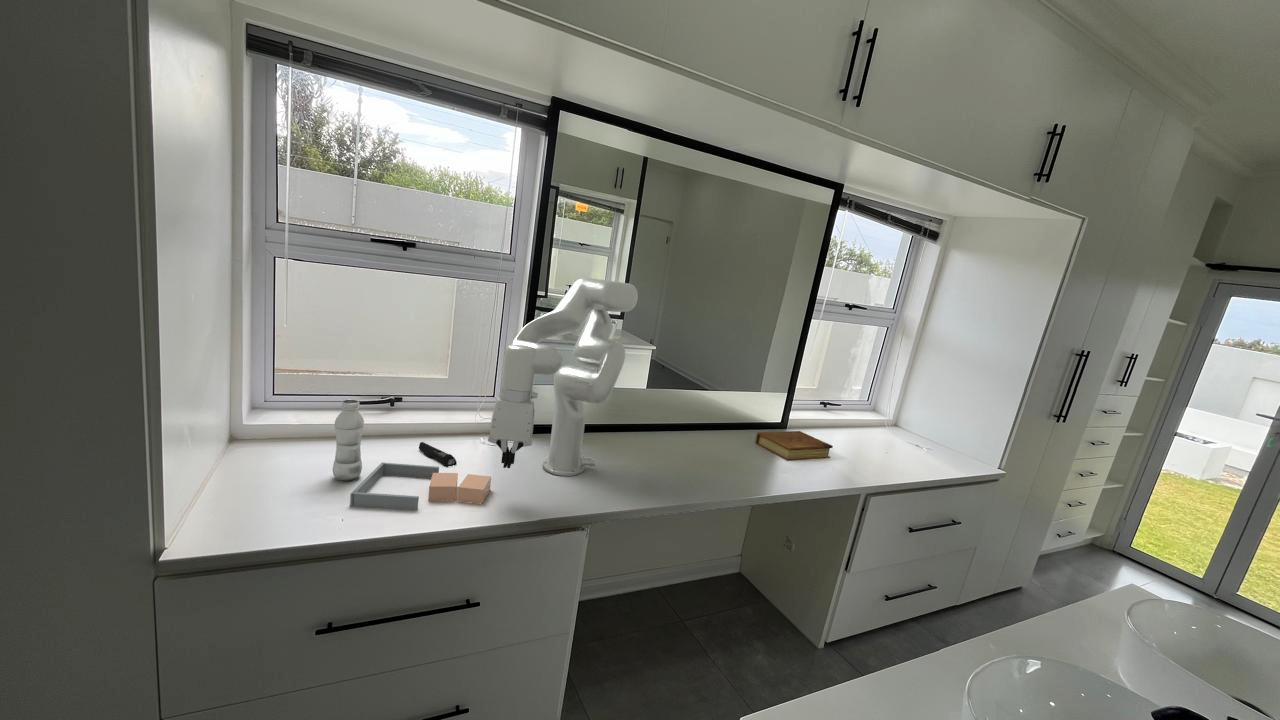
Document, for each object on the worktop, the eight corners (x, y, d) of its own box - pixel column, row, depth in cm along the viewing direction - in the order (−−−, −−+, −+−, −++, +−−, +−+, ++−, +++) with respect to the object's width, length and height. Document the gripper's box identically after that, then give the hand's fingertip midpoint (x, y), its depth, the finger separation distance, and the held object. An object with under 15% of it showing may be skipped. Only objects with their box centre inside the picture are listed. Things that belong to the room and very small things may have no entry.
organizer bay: (438, 477, 131) (439, 466, 130) (416, 509, 113) (417, 497, 112) (381, 473, 128) (381, 462, 128) (349, 505, 111) (350, 493, 110)
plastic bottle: (330, 484, 119) (333, 405, 116) (333, 473, 125) (336, 397, 122) (361, 482, 122) (365, 405, 119) (362, 471, 128) (365, 398, 125)
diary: (795, 443, 211) (798, 430, 210) (829, 459, 194) (832, 445, 194) (754, 444, 200) (757, 431, 199) (787, 462, 184) (789, 447, 183)
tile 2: (489, 490, 128) (491, 476, 127) (481, 504, 120) (483, 489, 119) (466, 488, 127) (467, 474, 126) (456, 502, 119) (458, 487, 119)
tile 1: (456, 487, 127) (458, 473, 126) (454, 501, 119) (455, 486, 119) (431, 487, 125) (432, 472, 124) (428, 502, 118) (429, 486, 117)
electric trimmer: (427, 450, 149) (427, 440, 149) (457, 465, 140) (458, 455, 140) (415, 452, 146) (415, 442, 145) (446, 468, 137) (446, 457, 137)
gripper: (547, 395, 125) (538, 463, 127) (487, 388, 123) (479, 458, 125) (545, 402, 118) (536, 474, 120) (481, 394, 115) (473, 468, 118)
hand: (507, 466), depth 122 cm, fingers closed
